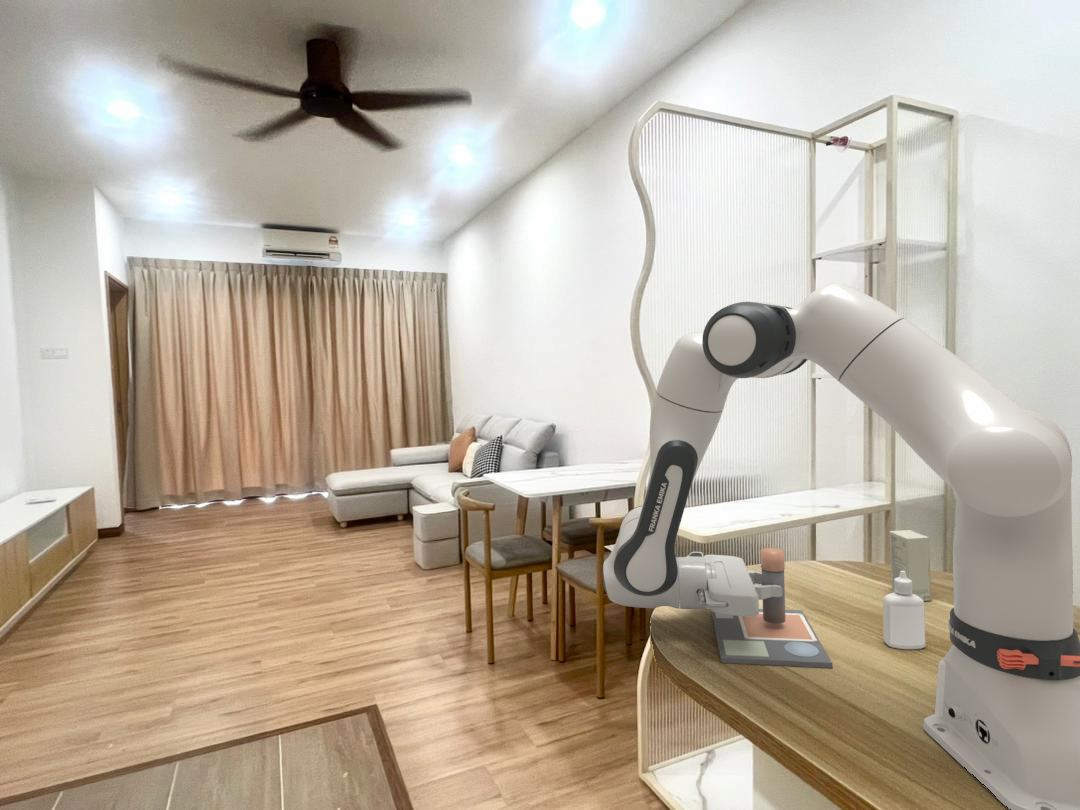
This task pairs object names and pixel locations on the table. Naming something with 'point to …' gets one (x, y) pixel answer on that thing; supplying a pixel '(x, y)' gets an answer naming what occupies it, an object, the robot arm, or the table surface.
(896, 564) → the skincare box
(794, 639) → the picture board
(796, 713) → the table surface
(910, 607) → the eye dropper bottle
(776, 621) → the terracotta marker
